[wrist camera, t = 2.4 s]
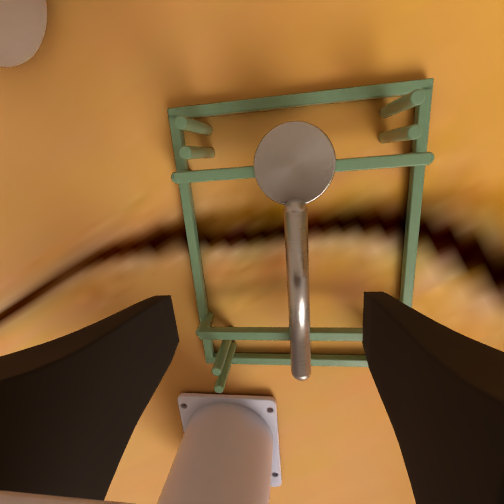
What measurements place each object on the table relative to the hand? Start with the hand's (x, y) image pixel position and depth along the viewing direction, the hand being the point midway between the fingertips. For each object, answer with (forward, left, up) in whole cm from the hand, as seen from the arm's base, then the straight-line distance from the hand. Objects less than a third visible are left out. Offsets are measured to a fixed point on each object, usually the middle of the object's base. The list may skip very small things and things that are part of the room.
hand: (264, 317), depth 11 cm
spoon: (0, -1, -6) cm, 6 cm away
